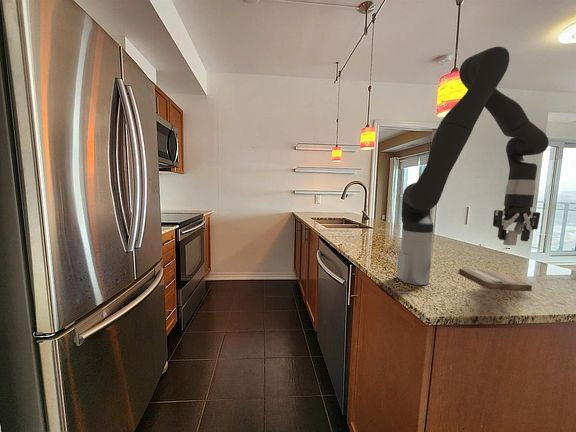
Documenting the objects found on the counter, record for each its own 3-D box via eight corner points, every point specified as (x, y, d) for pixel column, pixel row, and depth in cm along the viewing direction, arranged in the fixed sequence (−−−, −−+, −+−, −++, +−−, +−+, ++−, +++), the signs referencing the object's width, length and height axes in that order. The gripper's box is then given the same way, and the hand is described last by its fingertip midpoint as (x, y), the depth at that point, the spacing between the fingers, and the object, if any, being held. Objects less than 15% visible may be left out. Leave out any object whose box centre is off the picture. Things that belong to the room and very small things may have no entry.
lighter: (508, 245, 89) (511, 222, 88) (503, 244, 91) (506, 221, 90) (521, 244, 92) (525, 222, 91) (516, 243, 93) (519, 221, 92)
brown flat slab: (489, 288, 83) (489, 282, 83) (459, 272, 99) (459, 268, 98) (531, 289, 82) (532, 284, 82) (494, 273, 98) (494, 269, 98)
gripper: (506, 192, 86) (500, 241, 88) (551, 194, 85) (544, 243, 87) (490, 192, 93) (484, 237, 95) (531, 194, 93) (524, 239, 94)
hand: (512, 240), depth 91 cm, fingers closed on lighter, 7 cm apart
